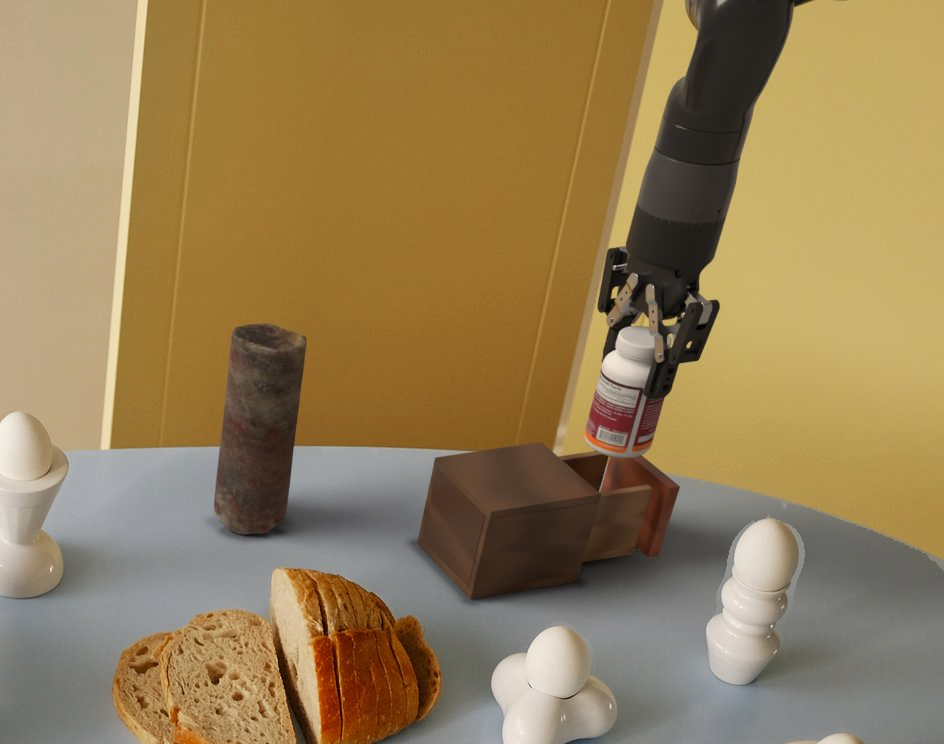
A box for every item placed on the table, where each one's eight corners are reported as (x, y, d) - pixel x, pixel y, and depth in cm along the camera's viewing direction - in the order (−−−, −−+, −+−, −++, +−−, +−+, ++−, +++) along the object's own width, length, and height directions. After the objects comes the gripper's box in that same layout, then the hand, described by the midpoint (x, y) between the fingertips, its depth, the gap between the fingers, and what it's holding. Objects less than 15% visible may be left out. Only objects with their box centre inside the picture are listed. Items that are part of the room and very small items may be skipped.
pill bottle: (635, 428, 170) (666, 320, 163) (660, 459, 165) (692, 350, 158) (572, 430, 170) (600, 322, 163) (595, 461, 165) (625, 352, 158)
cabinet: (519, 526, 178) (541, 441, 172) (577, 581, 170) (601, 494, 164) (416, 543, 175) (434, 457, 169) (470, 599, 167) (491, 511, 161)
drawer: (615, 507, 179) (634, 439, 174) (669, 554, 172) (691, 484, 167) (513, 524, 176) (530, 454, 171) (564, 572, 169) (583, 501, 164)
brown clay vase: (198, 506, 180) (219, 322, 168) (261, 493, 182) (286, 311, 170) (234, 542, 175) (258, 355, 162) (298, 529, 177) (327, 343, 164)
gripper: (772, 229, 148) (715, 410, 159) (671, 170, 159) (624, 343, 169) (695, 238, 146) (642, 421, 157) (598, 178, 157) (555, 352, 168)
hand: (633, 380), depth 163 cm, fingers closed on pill bottle, 6 cm apart
